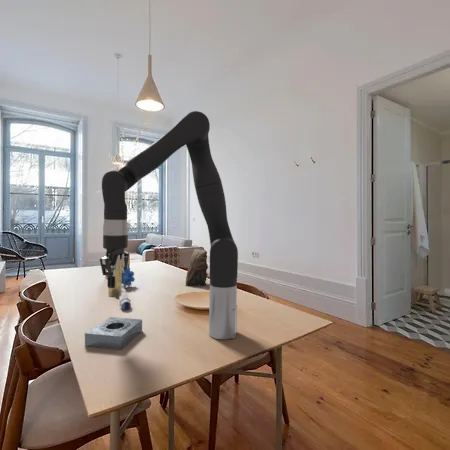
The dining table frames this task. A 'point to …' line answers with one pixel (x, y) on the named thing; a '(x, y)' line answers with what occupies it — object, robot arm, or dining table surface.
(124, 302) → the white electric toothbrush
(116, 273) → the brass plug
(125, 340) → the plate
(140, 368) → the dining table surface
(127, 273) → the blue flower
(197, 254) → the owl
